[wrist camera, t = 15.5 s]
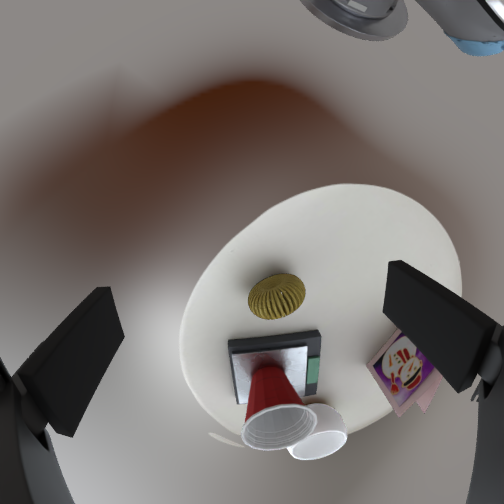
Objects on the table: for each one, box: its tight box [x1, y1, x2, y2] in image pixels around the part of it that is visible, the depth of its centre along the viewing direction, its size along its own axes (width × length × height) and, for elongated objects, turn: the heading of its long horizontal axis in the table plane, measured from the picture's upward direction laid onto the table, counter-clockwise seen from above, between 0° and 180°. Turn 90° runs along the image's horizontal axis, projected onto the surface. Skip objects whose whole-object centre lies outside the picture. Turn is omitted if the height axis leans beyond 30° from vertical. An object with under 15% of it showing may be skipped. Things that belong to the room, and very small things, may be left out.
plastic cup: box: [241, 367, 317, 450], centre depth 37 cm, size 11×11×12 cm
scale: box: [228, 330, 321, 404], centre depth 44 cm, size 14×15×3 cm
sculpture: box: [248, 274, 305, 320], centre depth 37 cm, size 8×4×8 cm, turn 111°
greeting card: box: [366, 328, 443, 417], centre depth 39 cm, size 11×7×15 cm, turn 147°
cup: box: [287, 403, 347, 460], centre depth 45 cm, size 12×12×10 cm
